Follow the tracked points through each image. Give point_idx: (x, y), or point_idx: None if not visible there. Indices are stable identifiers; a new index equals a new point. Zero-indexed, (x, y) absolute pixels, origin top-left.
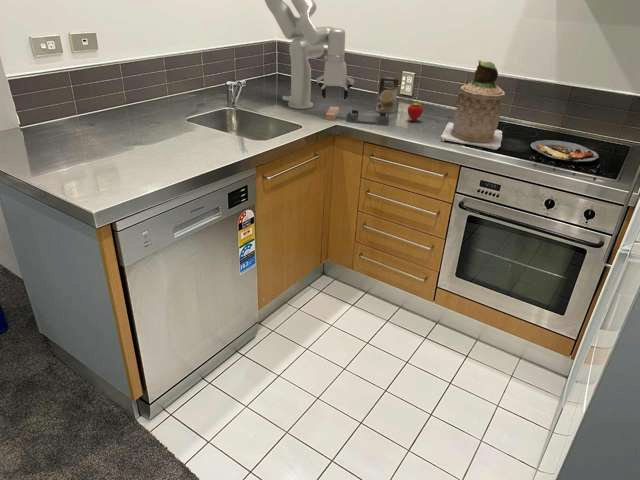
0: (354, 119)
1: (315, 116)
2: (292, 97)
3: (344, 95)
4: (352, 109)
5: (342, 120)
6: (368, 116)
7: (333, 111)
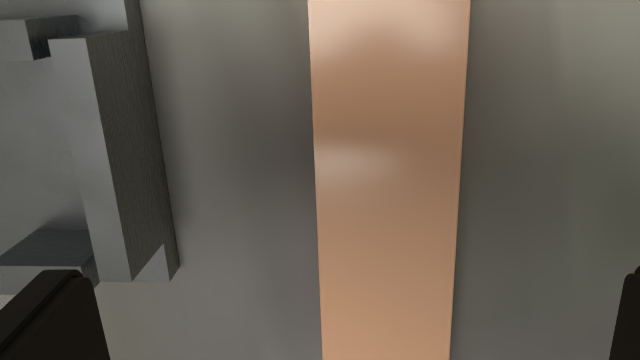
0: (5, 18)
1: (635, 104)
2: None
3: (18, 327)
4: None
5: (204, 37)
6: None
7: (364, 187)
